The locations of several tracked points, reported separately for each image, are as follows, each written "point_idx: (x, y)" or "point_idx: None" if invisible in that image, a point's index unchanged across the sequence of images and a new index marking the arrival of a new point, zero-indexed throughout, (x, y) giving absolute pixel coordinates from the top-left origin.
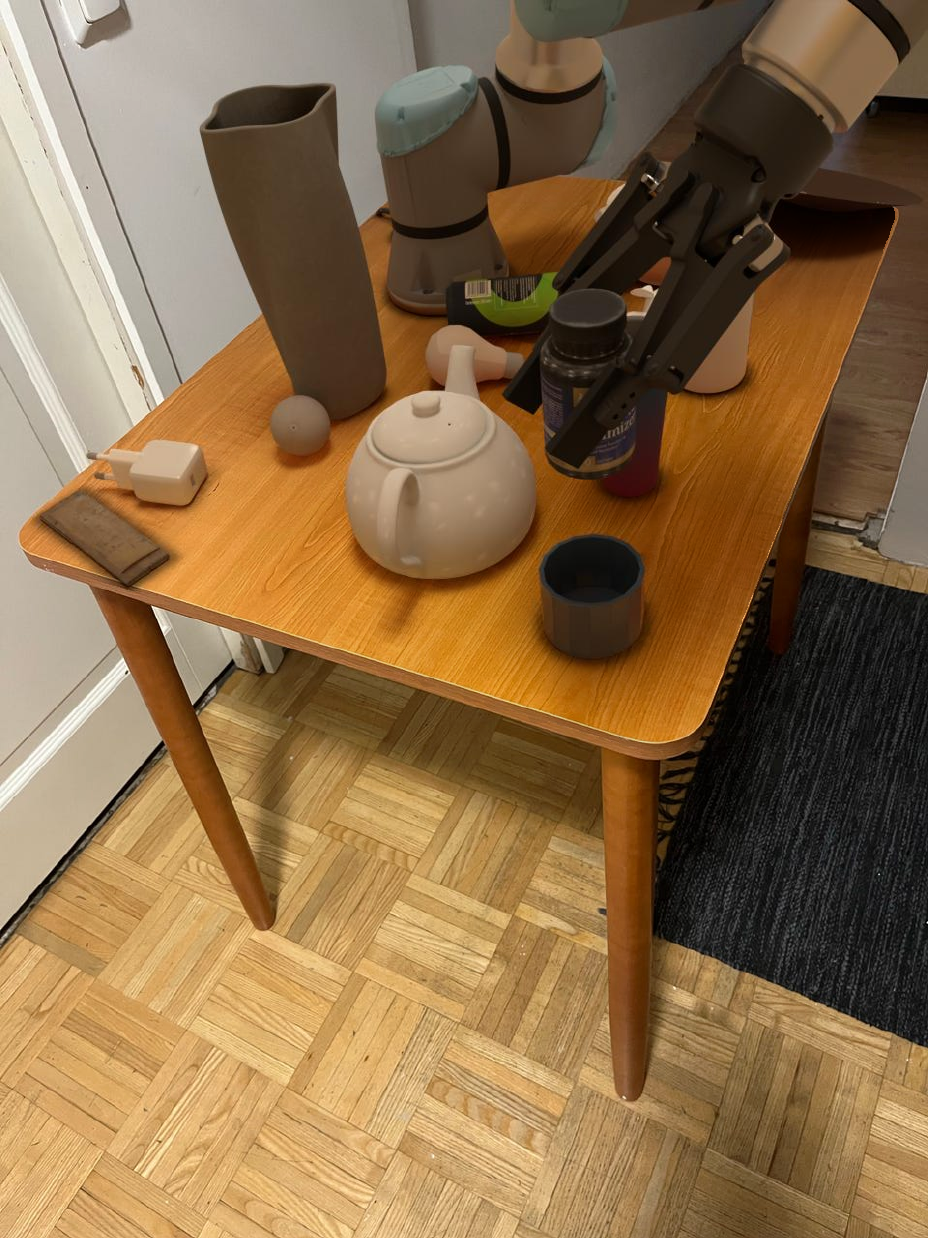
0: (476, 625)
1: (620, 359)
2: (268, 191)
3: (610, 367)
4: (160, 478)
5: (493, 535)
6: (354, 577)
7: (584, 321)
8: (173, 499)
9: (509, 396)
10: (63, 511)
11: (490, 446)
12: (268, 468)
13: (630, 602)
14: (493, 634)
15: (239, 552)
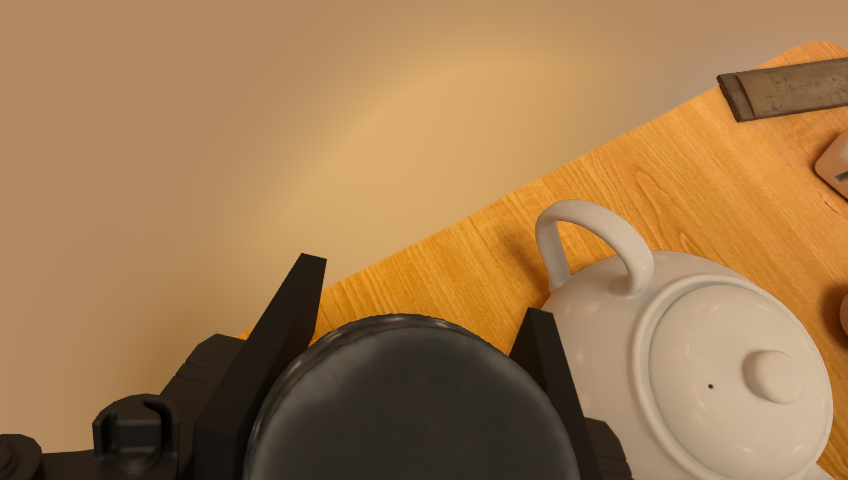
0: (458, 310)
1: (139, 416)
2: None
3: (219, 417)
4: None
5: None
6: (605, 248)
7: (333, 403)
8: (825, 154)
9: (528, 315)
10: None
11: (646, 432)
12: (838, 268)
13: None
14: (435, 317)
15: (710, 177)
